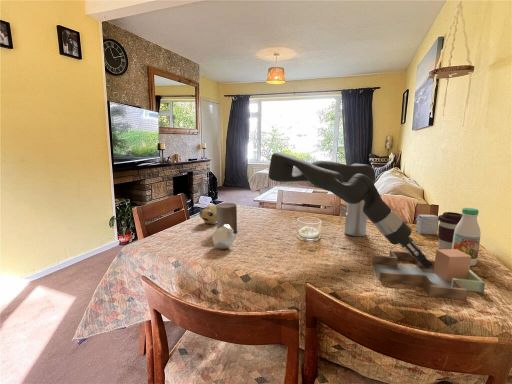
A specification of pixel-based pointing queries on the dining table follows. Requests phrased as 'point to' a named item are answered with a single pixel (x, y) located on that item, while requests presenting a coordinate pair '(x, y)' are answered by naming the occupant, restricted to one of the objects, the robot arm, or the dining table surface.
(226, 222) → the pillar candle
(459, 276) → the terracotta block
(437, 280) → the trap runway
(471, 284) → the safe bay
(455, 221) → the coffee cup
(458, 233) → the milk bottle
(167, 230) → the dining table surface
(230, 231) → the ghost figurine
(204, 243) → the dining table surface
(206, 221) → the toy pig
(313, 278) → the dining table surface
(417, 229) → the medicine box
